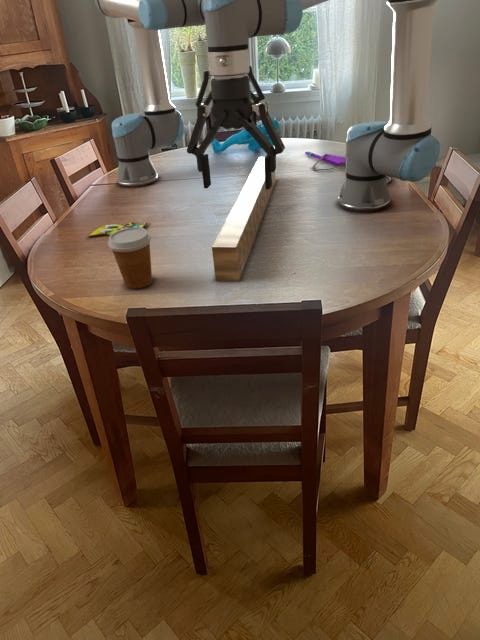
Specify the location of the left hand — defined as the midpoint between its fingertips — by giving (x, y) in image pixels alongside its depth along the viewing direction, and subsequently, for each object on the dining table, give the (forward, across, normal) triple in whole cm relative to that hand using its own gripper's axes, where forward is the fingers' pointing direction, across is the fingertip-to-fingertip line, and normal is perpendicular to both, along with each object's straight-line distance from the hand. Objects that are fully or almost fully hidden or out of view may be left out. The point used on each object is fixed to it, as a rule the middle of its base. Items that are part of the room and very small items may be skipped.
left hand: (232, 129), depth 144 cm
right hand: (+2, -8, -50) cm, 51 cm away
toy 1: (+22, -38, -11) cm, 46 cm away
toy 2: (+22, +15, +62) cm, 68 cm away
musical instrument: (+22, +39, +29) cm, 53 cm away
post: (+22, +1, -18) cm, 29 cm away
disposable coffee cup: (+22, -33, -47) cm, 62 cm away
